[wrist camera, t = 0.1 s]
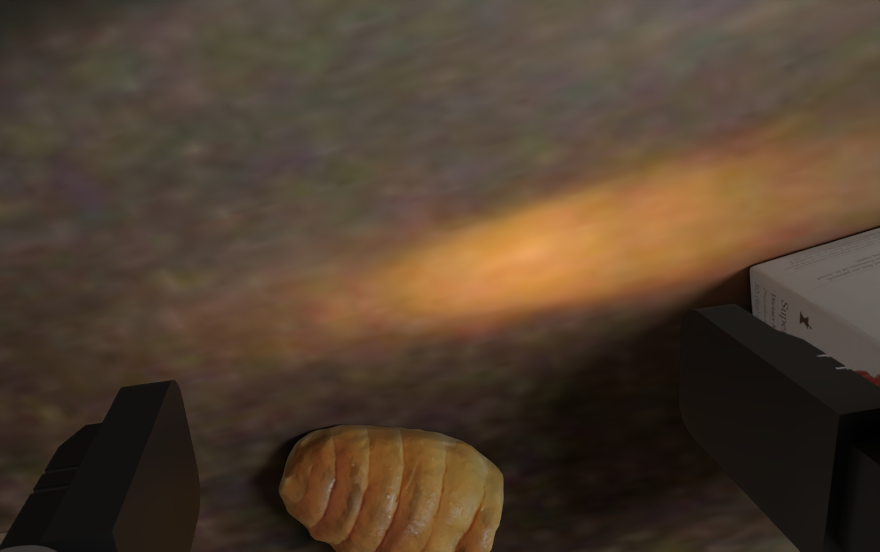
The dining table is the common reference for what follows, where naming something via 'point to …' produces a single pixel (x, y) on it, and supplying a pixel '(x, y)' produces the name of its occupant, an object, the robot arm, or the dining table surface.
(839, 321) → the supplement box
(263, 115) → the dining table surface
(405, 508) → the pastry
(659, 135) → the dining table surface
